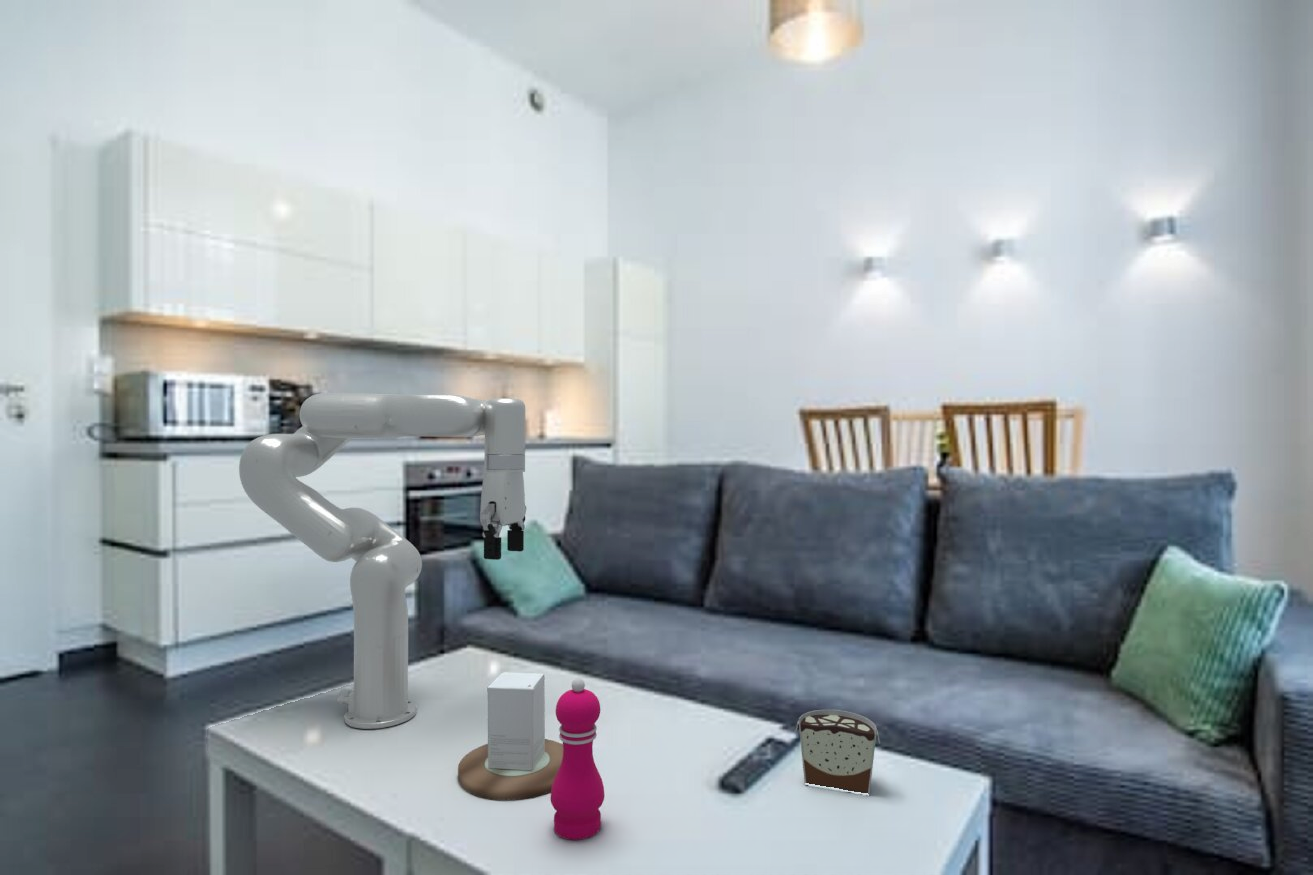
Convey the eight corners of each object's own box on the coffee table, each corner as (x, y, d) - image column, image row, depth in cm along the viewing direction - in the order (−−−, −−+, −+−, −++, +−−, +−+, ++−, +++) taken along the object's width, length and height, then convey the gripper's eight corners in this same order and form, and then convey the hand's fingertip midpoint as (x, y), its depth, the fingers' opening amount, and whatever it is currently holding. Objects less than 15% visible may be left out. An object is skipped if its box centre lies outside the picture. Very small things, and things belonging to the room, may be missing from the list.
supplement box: (546, 750, 115) (546, 672, 115) (532, 771, 108) (533, 688, 108) (502, 748, 116) (502, 670, 116) (485, 769, 109) (486, 686, 109)
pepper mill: (552, 814, 99) (552, 670, 99) (604, 812, 100) (604, 669, 100) (548, 843, 92) (549, 688, 92) (604, 841, 93) (605, 687, 93)
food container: (881, 778, 110) (881, 714, 110) (879, 797, 104) (880, 729, 104) (800, 766, 114) (800, 703, 114) (794, 783, 108) (795, 718, 108)
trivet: (435, 791, 105) (435, 780, 105) (491, 741, 123) (491, 731, 123) (549, 807, 101) (549, 795, 101) (590, 752, 119) (590, 742, 119)
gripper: (506, 462, 144) (506, 547, 144) (464, 465, 127) (463, 561, 127) (541, 462, 142) (540, 548, 142) (502, 466, 125) (502, 563, 125)
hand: (504, 554), depth 134 cm, fingers open, 9 cm apart
